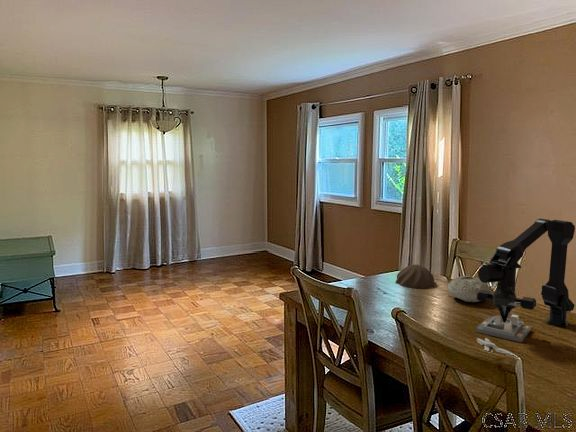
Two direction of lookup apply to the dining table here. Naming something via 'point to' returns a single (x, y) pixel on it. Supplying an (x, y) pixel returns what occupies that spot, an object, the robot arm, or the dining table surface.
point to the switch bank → (498, 331)
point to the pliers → (493, 346)
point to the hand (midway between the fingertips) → (504, 322)
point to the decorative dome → (415, 277)
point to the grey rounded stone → (467, 288)
